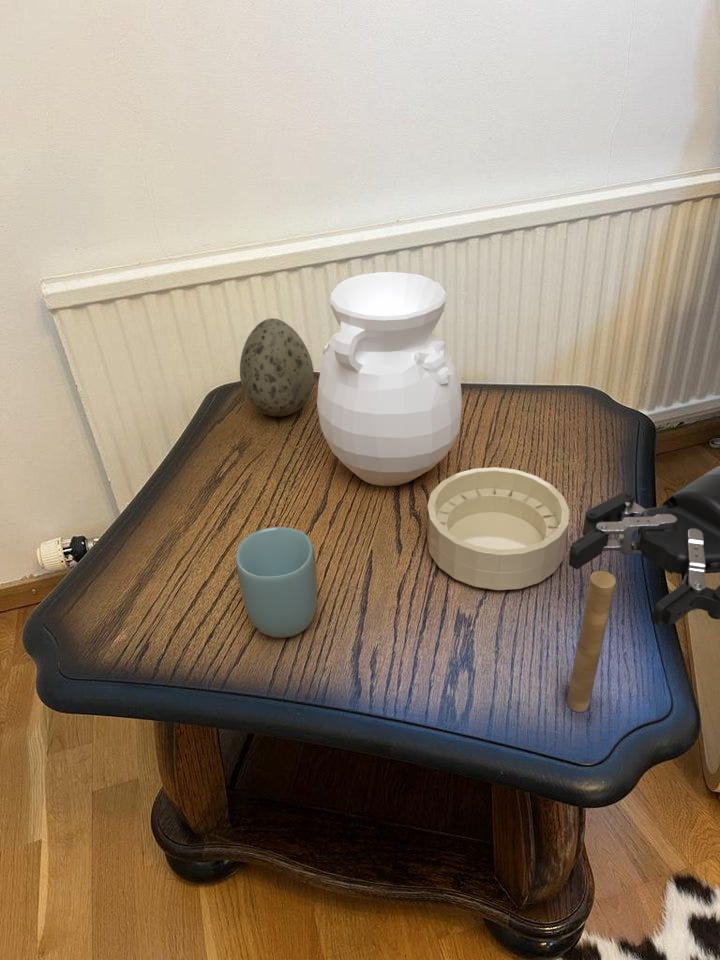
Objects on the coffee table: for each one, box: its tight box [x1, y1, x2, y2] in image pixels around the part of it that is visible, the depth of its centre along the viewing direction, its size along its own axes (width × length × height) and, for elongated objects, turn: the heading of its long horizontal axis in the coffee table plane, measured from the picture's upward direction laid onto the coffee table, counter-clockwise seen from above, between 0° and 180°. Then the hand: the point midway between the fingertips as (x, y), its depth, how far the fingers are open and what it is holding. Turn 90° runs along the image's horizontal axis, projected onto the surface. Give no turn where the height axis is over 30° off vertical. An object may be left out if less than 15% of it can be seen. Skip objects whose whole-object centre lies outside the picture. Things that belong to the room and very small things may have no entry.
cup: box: [235, 526, 318, 639], centre depth 78 cm, size 8×8×10 cm
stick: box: [566, 570, 617, 713], centre depth 66 cm, size 2×2×16 cm
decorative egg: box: [239, 317, 315, 418], centre depth 111 cm, size 11×11×15 cm
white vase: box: [316, 271, 463, 487], centre depth 95 cm, size 19×18×25 cm
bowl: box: [426, 466, 571, 591], centre depth 87 cm, size 16×16×6 cm
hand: (612, 587), depth 63 cm, fingers open, 8 cm apart
